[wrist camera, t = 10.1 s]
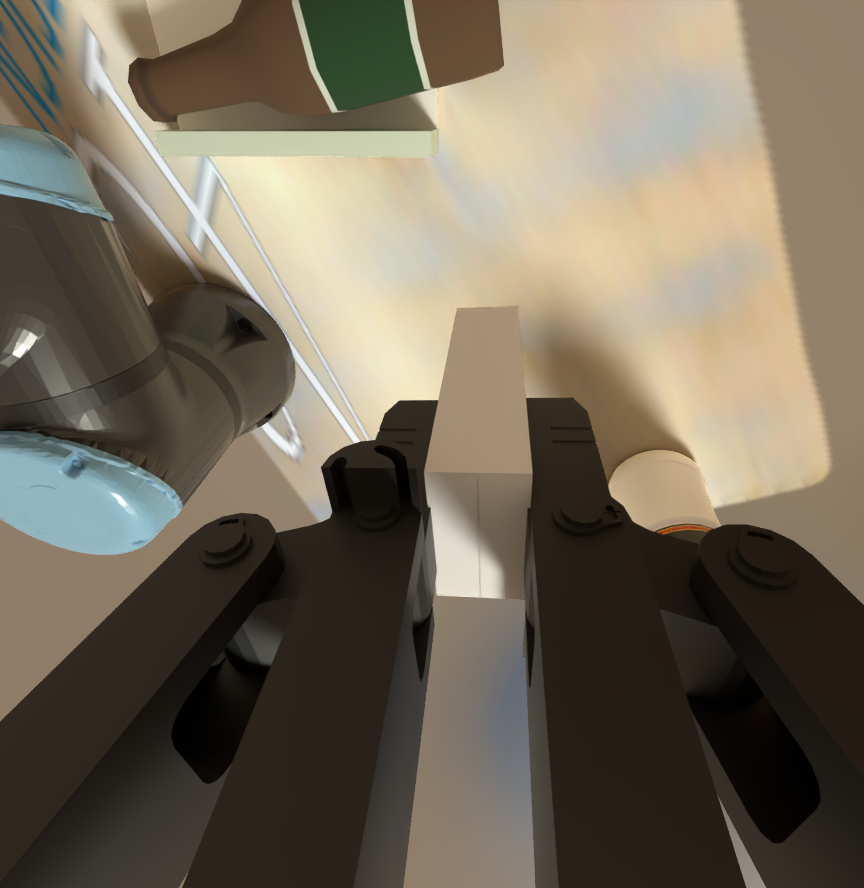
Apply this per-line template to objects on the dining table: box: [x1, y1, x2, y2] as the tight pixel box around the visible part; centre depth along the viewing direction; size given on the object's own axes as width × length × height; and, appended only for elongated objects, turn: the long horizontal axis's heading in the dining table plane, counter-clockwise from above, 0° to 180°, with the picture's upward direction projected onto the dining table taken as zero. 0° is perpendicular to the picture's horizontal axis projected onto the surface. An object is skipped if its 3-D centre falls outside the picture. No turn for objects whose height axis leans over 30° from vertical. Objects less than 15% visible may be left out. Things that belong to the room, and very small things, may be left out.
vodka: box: [608, 450, 721, 544], centre depth 39 cm, size 9×9×30 cm
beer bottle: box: [128, 0, 504, 122], centre depth 30 cm, size 8×8×24 cm
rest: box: [146, 0, 438, 157], centre depth 31 cm, size 20×16×4 cm
